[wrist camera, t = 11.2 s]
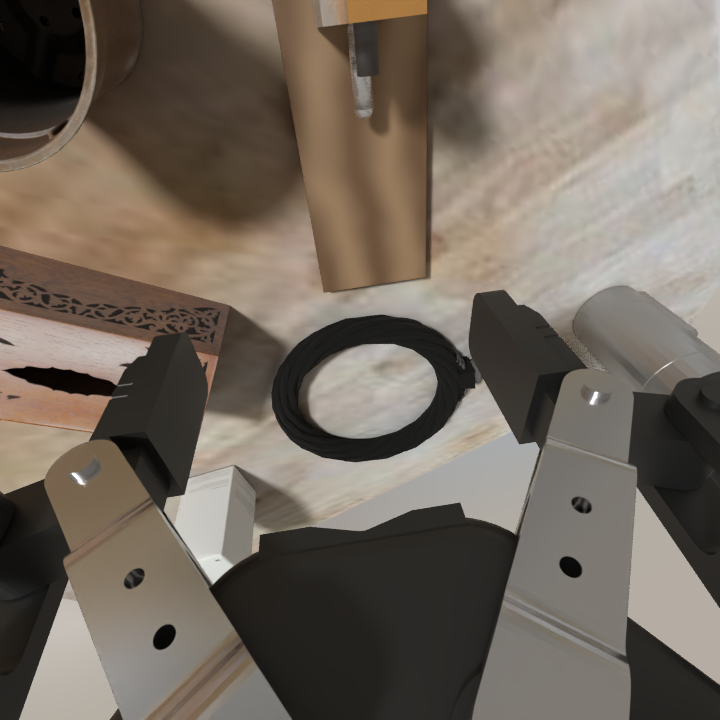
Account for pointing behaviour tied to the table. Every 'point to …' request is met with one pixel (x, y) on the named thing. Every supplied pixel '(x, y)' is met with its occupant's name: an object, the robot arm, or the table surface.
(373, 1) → the end link
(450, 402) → the cable lock
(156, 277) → the table surface
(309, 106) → the board
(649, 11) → the table surface
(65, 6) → the plant pot
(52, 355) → the tissue box cover
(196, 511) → the supplement box
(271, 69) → the table surface
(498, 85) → the table surface
